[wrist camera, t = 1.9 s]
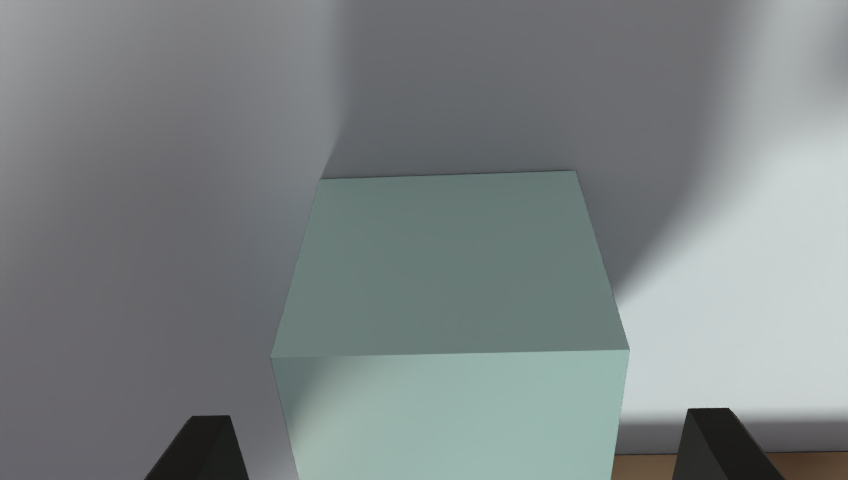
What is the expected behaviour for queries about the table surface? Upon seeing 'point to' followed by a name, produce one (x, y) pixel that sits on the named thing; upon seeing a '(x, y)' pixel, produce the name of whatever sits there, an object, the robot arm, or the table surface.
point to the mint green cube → (451, 332)
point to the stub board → (805, 472)
